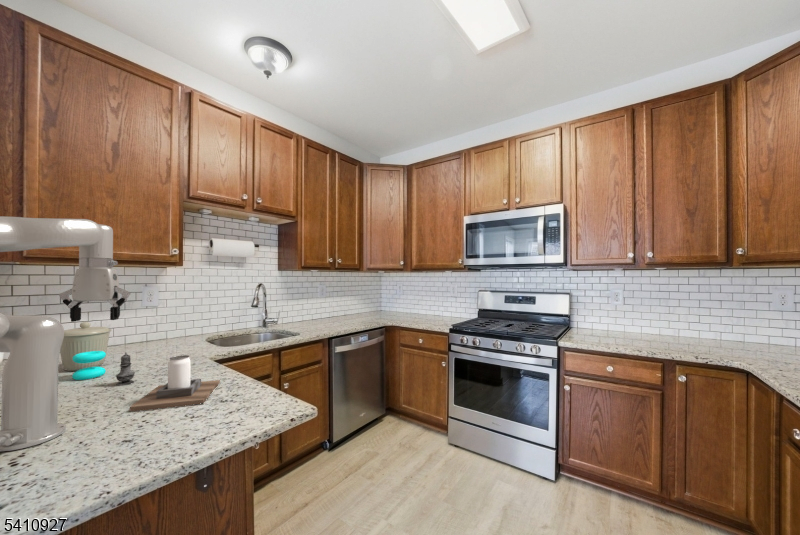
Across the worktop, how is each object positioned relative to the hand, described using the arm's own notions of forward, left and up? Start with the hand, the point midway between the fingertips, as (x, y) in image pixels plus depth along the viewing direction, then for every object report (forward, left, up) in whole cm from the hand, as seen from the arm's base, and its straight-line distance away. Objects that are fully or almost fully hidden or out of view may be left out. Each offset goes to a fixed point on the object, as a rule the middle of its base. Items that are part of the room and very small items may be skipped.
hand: (95, 320), depth 98 cm
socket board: (+8, -20, -28) cm, 36 cm away
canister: (+61, +36, -28) cm, 76 cm away
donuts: (+44, +25, -29) cm, 58 cm away
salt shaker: (+30, +6, -28) cm, 42 cm away
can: (+8, -20, -27) cm, 34 cm away
